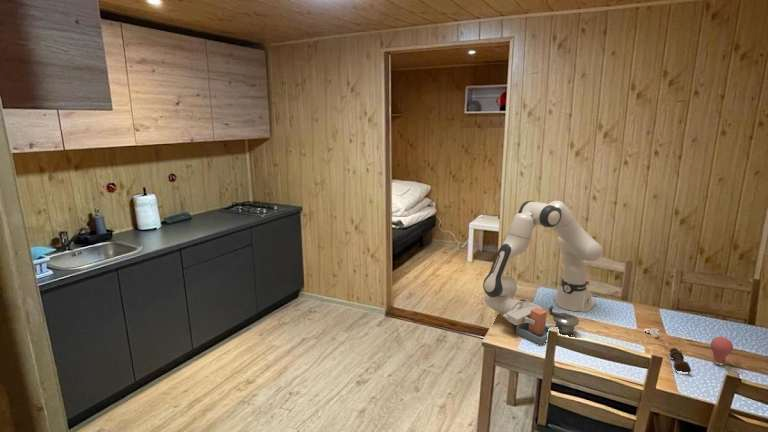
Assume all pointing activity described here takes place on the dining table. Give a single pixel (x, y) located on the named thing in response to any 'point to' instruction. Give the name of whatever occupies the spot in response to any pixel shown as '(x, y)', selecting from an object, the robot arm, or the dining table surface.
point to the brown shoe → (679, 361)
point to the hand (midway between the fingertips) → (539, 320)
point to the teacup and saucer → (652, 331)
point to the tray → (532, 334)
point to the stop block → (538, 321)
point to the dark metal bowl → (564, 322)
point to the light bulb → (721, 348)
